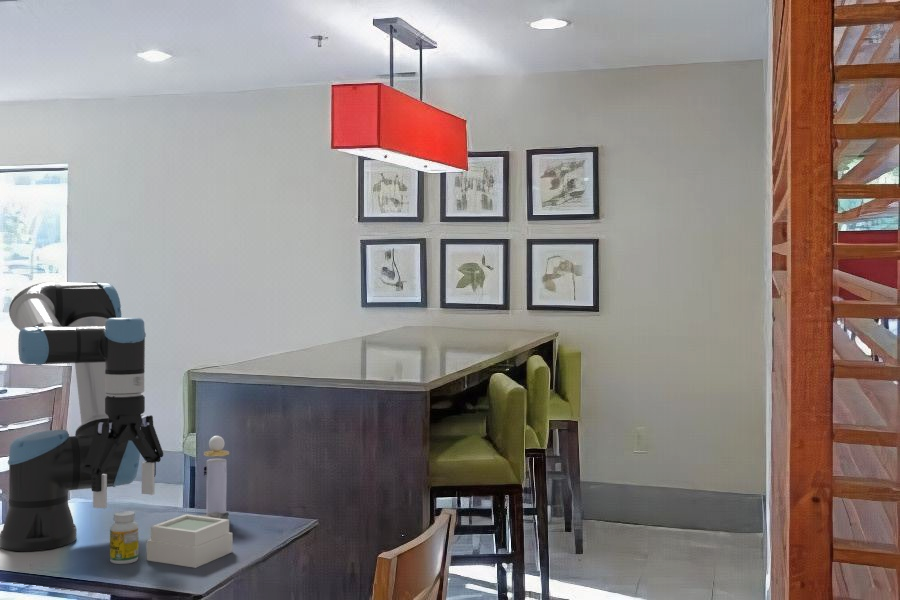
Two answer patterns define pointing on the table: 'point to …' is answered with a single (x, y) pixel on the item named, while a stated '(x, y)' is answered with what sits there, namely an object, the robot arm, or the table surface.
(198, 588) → the table surface
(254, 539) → the table surface
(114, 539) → the supplement bottle
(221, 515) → the mineral specimen
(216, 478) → the perfume bottle
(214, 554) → the display pedestal
